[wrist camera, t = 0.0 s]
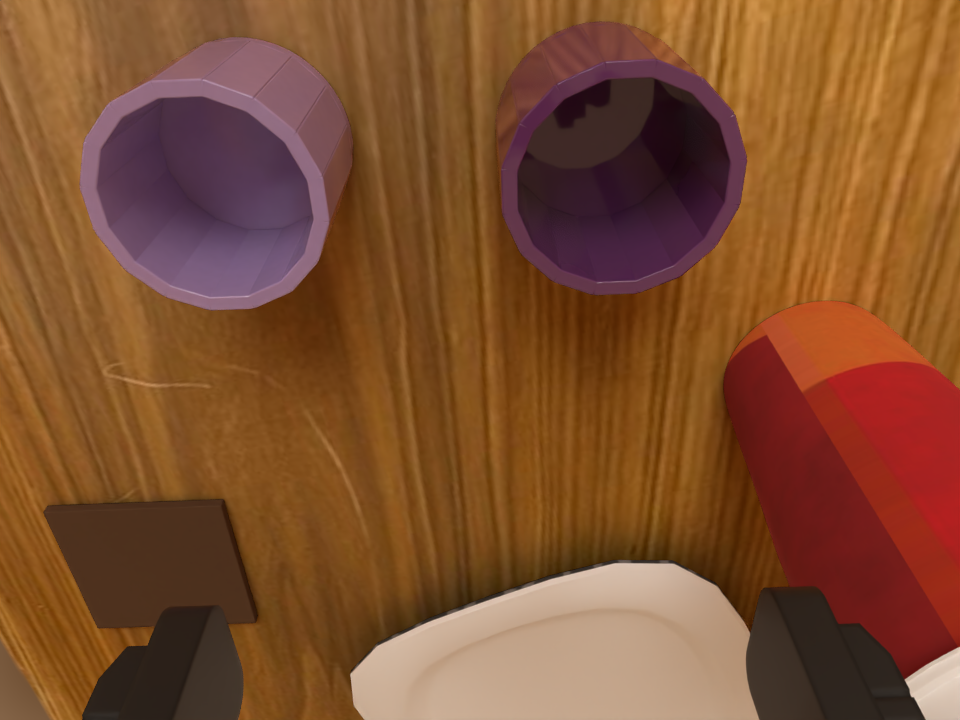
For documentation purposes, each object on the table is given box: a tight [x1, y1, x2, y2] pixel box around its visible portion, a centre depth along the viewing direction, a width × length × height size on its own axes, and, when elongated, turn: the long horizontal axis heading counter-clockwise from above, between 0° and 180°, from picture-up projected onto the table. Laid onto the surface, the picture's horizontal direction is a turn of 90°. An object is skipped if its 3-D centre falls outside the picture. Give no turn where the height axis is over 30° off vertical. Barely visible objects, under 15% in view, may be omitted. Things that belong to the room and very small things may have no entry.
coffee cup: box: [724, 301, 960, 720], centre depth 21 cm, size 8×8×15 cm
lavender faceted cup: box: [80, 37, 353, 310], centre depth 21 cm, size 6×6×5 cm
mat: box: [43, 499, 258, 628], centre depth 32 cm, size 7×7×1 cm
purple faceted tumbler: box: [495, 22, 747, 295], centre depth 20 cm, size 6×6×5 cm
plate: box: [350, 560, 759, 720], centre depth 36 cm, size 18×18×2 cm
